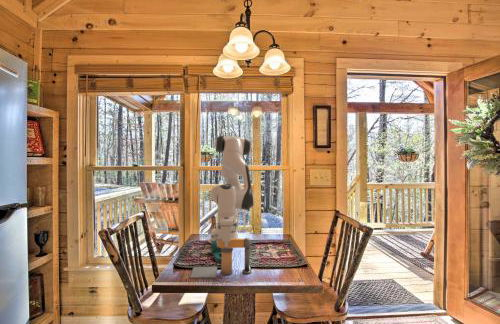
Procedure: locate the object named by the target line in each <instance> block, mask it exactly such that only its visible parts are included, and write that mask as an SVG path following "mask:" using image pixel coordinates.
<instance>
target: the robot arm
mask: <svg viewBox="0 0 500 324" xmlns="http://www.w3.org/2000/svg"><path fill="white" fill-rule="evenodd" d="M214 147H215V150H216V151H217V153H220V154H223V155H222V162H221V177H223V178H224V180H225V184H219V185H217V186H214V187H212V188H211V190H210V198H211V200H212V201H213V202H214V203H215V204H216V206H217V208H218V210H217V226H216V228H215V229H214V230H212V232H211V233H210V237H209V238H207V240H206V241H207V242H208V243H210V244H211V243H212V241H215V240H216V242H217V248H219V239H222V242H224V243H225V244H224V246H225V247H228V242H230V239H239V237H238V229H237V227H238V222H237V210H238V209H239V210H240V209H241V210H250V209H251V208H253V206H254V205H255V194H254V192H253V189H252V188H253V186H252V182H251V181H252V180H251V173H250V168H249V164H248V163H246V162H245V160H244V159H243V157H244V156H247V155H248V154H250V152H251V151H252V142H251V140H250V139H249V138H247V137H242V136H241V137H240V136H235V135H234V136H232V135H231V136H230V135H229V136H228V135H226V136H225V135H218V137H217V138H216V140H215V142H214ZM240 176H241V177H242V181H243V185H242V184H241V182H240V179H239V178H240ZM236 209H237V210H236Z"/></svg>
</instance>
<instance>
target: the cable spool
mask: <svg viewBox="0 0 500 324" xmlns="http://www.w3.org/2000/svg"><path fill="white" fill-rule="evenodd" d="M221 251H222V257H221V258H222V260H221V265H220V266H221V270H220V275H222V276H231V275H233V273H234V271H233V251H234V248H221ZM230 274H231V275H230Z"/></svg>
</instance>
